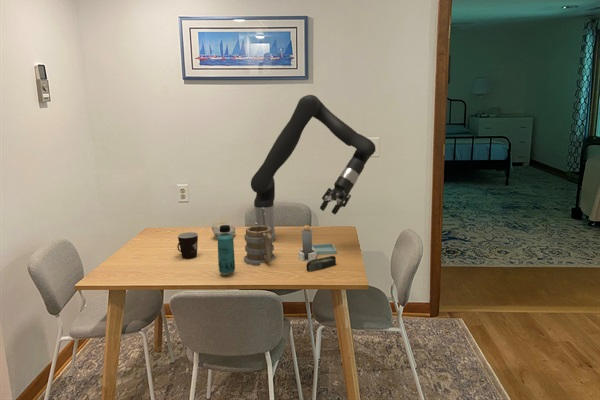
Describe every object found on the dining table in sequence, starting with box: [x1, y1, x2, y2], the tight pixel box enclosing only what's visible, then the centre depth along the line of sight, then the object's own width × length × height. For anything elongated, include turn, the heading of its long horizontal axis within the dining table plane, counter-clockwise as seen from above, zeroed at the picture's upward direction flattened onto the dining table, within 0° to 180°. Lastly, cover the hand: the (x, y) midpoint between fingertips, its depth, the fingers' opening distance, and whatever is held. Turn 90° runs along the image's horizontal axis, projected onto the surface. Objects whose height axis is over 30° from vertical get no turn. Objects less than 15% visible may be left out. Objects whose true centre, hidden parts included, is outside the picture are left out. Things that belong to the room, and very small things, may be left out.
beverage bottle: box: [216, 224, 236, 275], centre depth 183 cm, size 6×7×20 cm
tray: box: [312, 243, 338, 256], centre depth 207 cm, size 10×10×2 cm
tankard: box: [243, 225, 277, 266], centre depth 195 cm, size 20×13×15 cm, turn 22°
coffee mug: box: [176, 231, 199, 260], centre depth 204 cm, size 12×9×10 cm
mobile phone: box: [306, 255, 337, 273], centre depth 186 cm, size 5×3×15 cm
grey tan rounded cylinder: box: [301, 225, 313, 260], centre depth 197 cm, size 4×4×14 cm
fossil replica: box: [211, 220, 236, 239], centre depth 232 cm, size 12×8×10 cm
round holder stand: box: [297, 248, 318, 262], centre depth 198 cm, size 8×8×4 cm
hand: (327, 211), depth 200 cm, fingers open, 8 cm apart
